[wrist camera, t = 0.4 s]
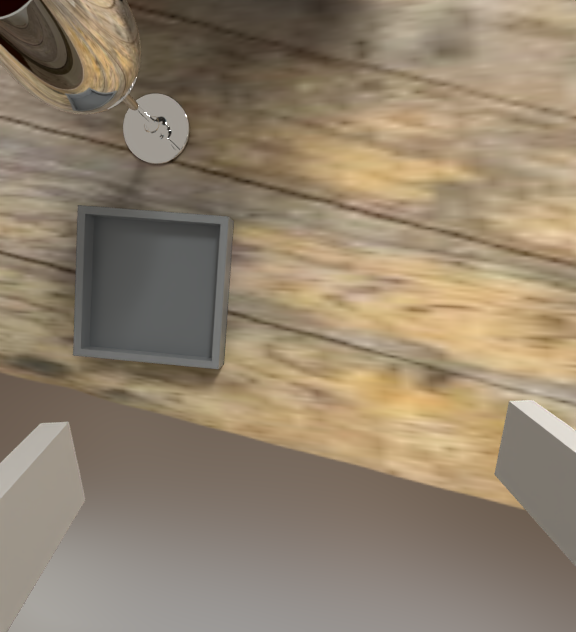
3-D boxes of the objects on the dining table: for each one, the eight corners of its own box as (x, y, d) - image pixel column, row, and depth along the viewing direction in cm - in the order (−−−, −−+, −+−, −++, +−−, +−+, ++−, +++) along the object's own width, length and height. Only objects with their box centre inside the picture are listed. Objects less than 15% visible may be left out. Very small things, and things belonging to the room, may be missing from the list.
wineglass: (112, 170, 34) (-99, 44, 16) (116, 81, 34) (-101, -153, 16) (196, 176, 34) (73, 53, 16) (201, 86, 33) (78, -147, 15)
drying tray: (92, 210, 35) (77, 205, 33) (233, 221, 34) (228, 216, 32) (87, 351, 36) (73, 355, 34) (223, 364, 35) (218, 369, 33)
